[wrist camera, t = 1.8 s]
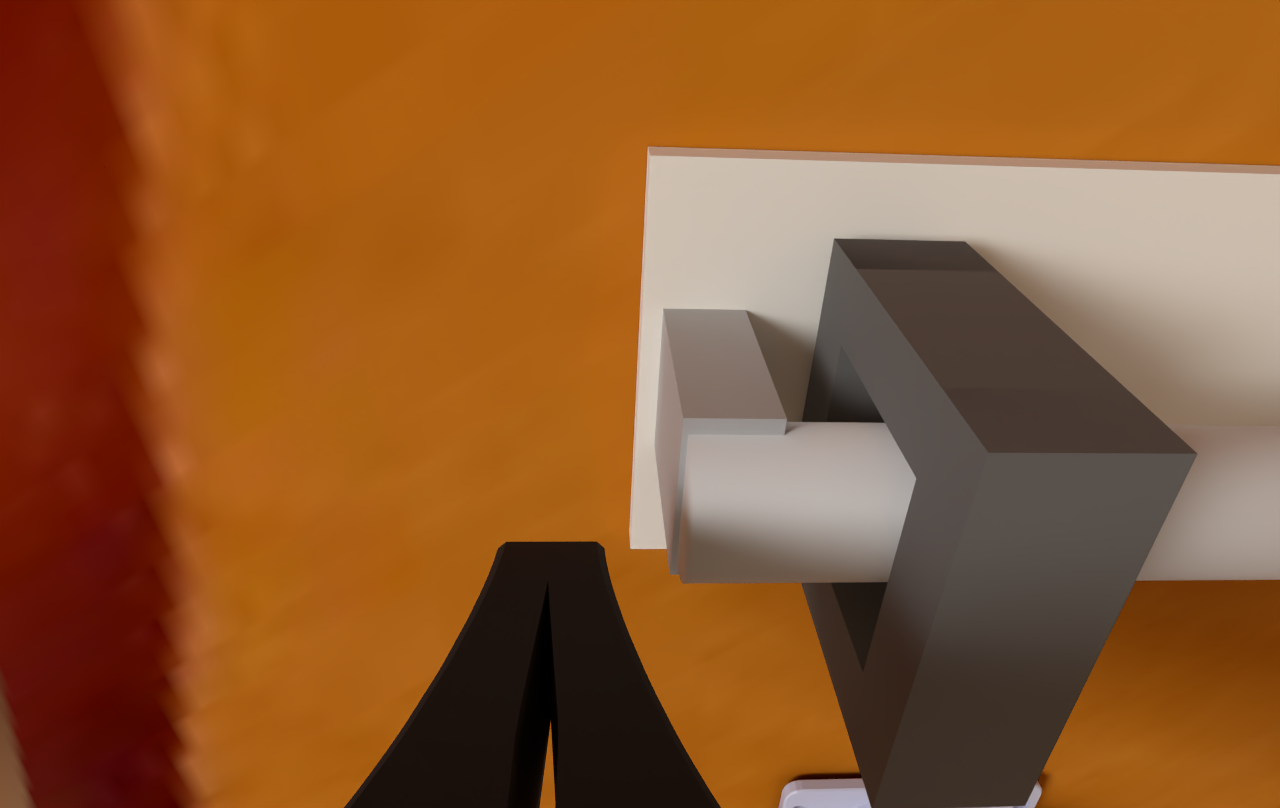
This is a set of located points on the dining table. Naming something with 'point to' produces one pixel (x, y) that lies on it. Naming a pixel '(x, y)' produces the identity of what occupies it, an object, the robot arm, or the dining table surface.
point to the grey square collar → (978, 521)
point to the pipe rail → (1020, 251)
